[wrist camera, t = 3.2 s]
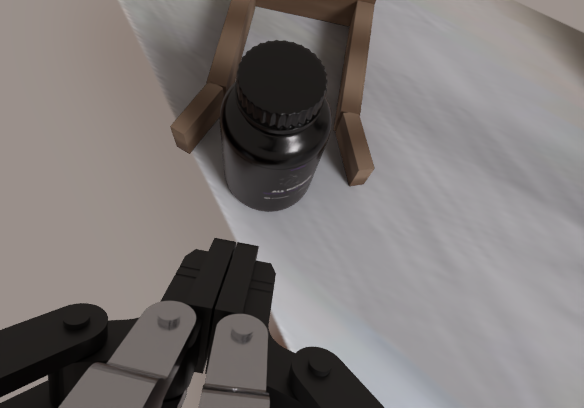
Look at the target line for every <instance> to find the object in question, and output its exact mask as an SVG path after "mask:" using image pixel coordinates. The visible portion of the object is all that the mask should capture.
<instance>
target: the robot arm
mask: <svg viewBox="0 0 584 408" xmlns="http://www.w3.org/2000/svg"><path fill="white" fill-rule="evenodd" d="M258 247H259V246H255V245H250V244H244V243H239V242H238V243H237V246H236V242H234V241H228V240H223V239H218V238H214V240H213V243H212V245H211V247H210V249H209V251H203V250H198V249H196V250H194V251H193V252H191V253H190V254H188V255H186V256H185V258H184V259H183V261H182V263H181V265H180V268H179V269H178V270H177V272H176V275H175V276H174V278H173V280H172V282H171V283H170V285H169V287H168V289H167V290H166V293H165V294H164V296H163V298H162V300H161V301H160V302H158V303H155V304H153V305H151V306H149V307H148V308H147V309H146V310H145V311H144V312H143V314H142V315H141V316H140V317H139V318H135V319H129V320H111V321H108V316H107V313H106V312H105V311H104V310H103V309H102V308H100V307H99V306H96V305H92V304H84V303H83V304H82V303H80V304H73V305H68V306H66V307H62V308H60V309H57V310H55V311H51V312H49V313H46V314H43V315H41V316H38V317H35V318H32V319H29V320H27V321H24V322H21V323H18V324H16V325H13V326H10V327H8V328H5V329H2V330H0V397H2V396H4V395H6V394H8V393H11V392H13V391H15V390H17V389H19V388H21V387H23V386H25V385H28V384H29V383H32V382H34V381H36V380H38V379H40V378H42V377H44V376H46V375H48V381H46V382H43V383H41V384H39V385H37V386H35V387H33V388H31V389H29V390H27V391H25V392H23V393H21V394H19V395H16V396H14V397H12V398H10V399H8V400H6V401H4V402H2V403H0V408H181V407H182V405H183V403H184V400H185V398H186V395H187V388H188V386H189V384H190V382H191V379H192V376H193V373H194V372H198V373H203V371H204V368H205V365H206V361H207V365H206V373H205V374H206V379H205V384H204V385H203V389H202V394H201V399H200V403H199V408H384V407H383V405H382V404H381V403H380V402H379V401H378V400H377V399H376V398H375V397H374V396H373V395H372V394H371V392H370V391H369V390H368V389H367V388H366V387H365V386H364V385H363V384H362V383H361V382H360V380H359V379H358V378H357V377H356V376H355V375H354V374H353V373H352V372H351V371H350V370H349V369H348V367H347V366H346V365H345V364H344V363H343V362H342V361H341V360H340V359H339V358H338V357H337V356H336V355H335V354H333V353H332V352H330V351H328V350H326V349H323V348H320V347H306V348H303V349H301V350H299V351H298V352H296V353H294V352H291V351H289V350H287V349H285V348H283V347H282V346H280V345H279V344H278V343H277V342H276V341H274V339H273V338H272V337H271V335H270V332H269V329H268V323H269V316H270V310H271V303H272V296H273V289H274V282H275V276H276V273H275V271H274V269H273V267H272V265H271V263H266V262H260V261H256V258H257V253H258ZM207 358H208V359H207Z"/></svg>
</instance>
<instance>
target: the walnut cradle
mask: <svg viewBox="0 0 584 408" xmlns="http://www.w3.org/2000/svg"><path fill="white" fill-rule="evenodd" d="M375 1H376V0H231V3H230V6H229V10H228V13H227V16H226V20H225V23H224V26H223V30H222V33H221V36H220V39H219V43H218V46H217V49H216V53H215V56H214V59H213V62H212V66H211V69H210V72H209V76H208V79H207V82H206V83H207V84H206V85H205V86H204V88H203V89H202V90H201V91H200V92H199V93H198V95H197V96H196V97H195V98H194V99H193V100H192V102H191V103H190V104H189V105H188V106H187V107H186V109H185V110H184V111H183V112H182V113H181V114H180V116H179V117H178V118H177V119H176V120H175V122H174V123H173V124H172V125H171V126H170V127H171V130H172V133H173V136H174V139H175V142H176V145H177V147H179V148H181V149H182V150H184V151H185V152H187V153H189V154H190V153H191V152H192V150H193V149H194V148H195V147H196V145H197V144H198V143H199V142H200V140H201V139H202V138H203V137H204V135H205V134H206V133H207V132H208V130H209V129H210V128H211V127H212V126H213V124H214V123H215V122H216V121H217V119H218V118H219V117H220V109H221V104H222V101H223V98H224V96H225V94H226V92H227V91H228V89H229V88H230V87H231V85H232V84H233V83H234V82H235V80H236V74H237V70H238V65H239V63H240V62H241V58H242V54H243V51H244V47H245V43H246V40H247V36H248V32H249V28H250V25H251V21H252V17H253V14H254V10H255V6H257V7H262V8H267V9H271V10H276V11H280V12H285V13H290V14H294V15H299V16H303V17H308V18H313V19H317V20H322V21H326V22H331V23H336V24H340V25H345V26H350V27H349V33H348V40H347V46H346V53H345V59H344V66H343V72H342V78H341V85H340V91H339V98H338V104H337V111H336V117H335V123H334V130H333V131H336V132H335V134H336V137H337V141H338V145H339V149H340V153H341V157H342V160H343V164H344V168H345V172H346V176H347V179H348V183H349V186H355V185H362V184H364V183H365V181H366V180H367V178H368V177H369V176H370V174H371V173H372V171H373V170H374V165H373V161H372V158H371V154H370V151H369V147H368V144H367V140H366V137H365V133H364V130H363V127H362V123H361V120H360V112H361V104H362V96H363V89H364V81H365V73H366V65H367V58H368V50H369V42H370V35H371V27H372V19H373V12H374V4H375Z"/></svg>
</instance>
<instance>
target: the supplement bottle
mask: <svg viewBox="0 0 584 408" xmlns="http://www.w3.org/2000/svg"><path fill="white" fill-rule="evenodd" d="M326 77H327V73H326V72H325V68H324V66H323V65H322V64H321V60H320V59H318V58H317V57H316V55H315V54H314V53H312V52H311V51H310V50H309V49H307V48H304V47H303V46H302V45H298V44H296V43H294V42H288V41H278V40H275V41H267V42H266V43H260V44H259V45H258V46H254V47H252V49H251V50H249V51H247V52H246V55H245V56H243V57H242V59H241V62H240V63H239V65H238V70H237V74H236V81H235V82H234V83H233V84H232V85H231V87H230V88H229V89H228V91H227V92H226V94H225V96H224V98H223V101H222V104H221V109H220V128H221V140H222V152H223V164H224V173H225V179H226V182H227V185H228V187H229V189H230V191H231V192H232V194H233V195H234V196H235V197H236V198H237V199H238V200H239V201H240V202H242V203H243V204H245V205H246V206H248V207H250V208H253V209H256V210H259V211H267V212H272V211H279V210H283V209H286V208H288V207H290V206H292V205H294V204H295V203H296V202H298V201H299V200H300V199H301V198H302V197H303V195H304V194H305V193H306V191H307V189H308V187H309V185H310V183H311V181H312V178H313V176H314V173H315V171H316V168H317V166H318V163H319V161H320V158H321V156H322V153H323V151H324V148H325V146H326V143H327V141H328V138H329V135H330V131H331V126H332V115H331V109H330V106H329V103H328V101H327V99H326V97H325V94H326V91H327V88H326V87H327V83H328V81H327V79H326Z"/></svg>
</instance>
